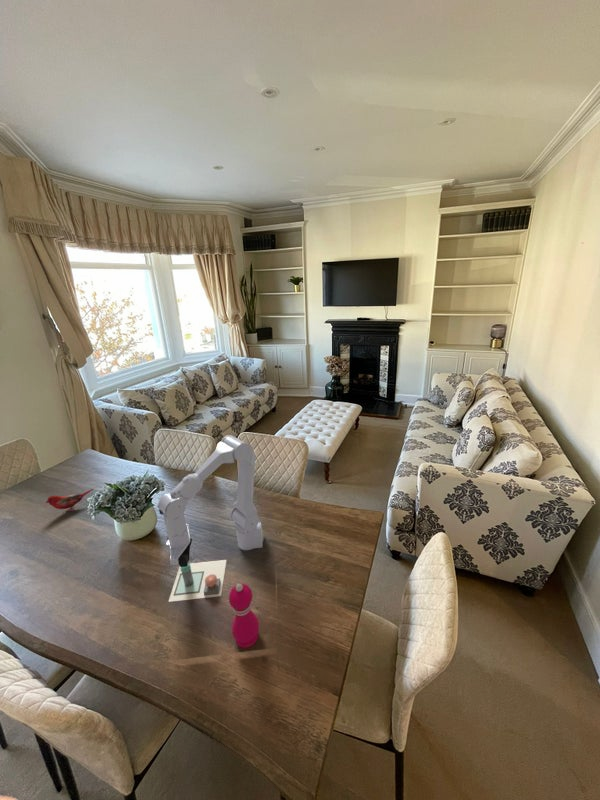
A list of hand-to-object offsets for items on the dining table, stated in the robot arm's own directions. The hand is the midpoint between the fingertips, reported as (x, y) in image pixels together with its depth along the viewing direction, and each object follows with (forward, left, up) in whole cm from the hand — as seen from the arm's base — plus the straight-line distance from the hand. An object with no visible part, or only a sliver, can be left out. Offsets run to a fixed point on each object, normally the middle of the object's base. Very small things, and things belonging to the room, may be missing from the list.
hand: (184, 563), depth 103 cm
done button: (-8, +3, -7) cm, 11 cm away
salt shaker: (0, 0, -8) cm, 8 cm away
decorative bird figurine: (+62, -47, -10) cm, 78 cm away
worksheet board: (-3, -1, -9) cm, 10 cm away
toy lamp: (+12, -23, -10) cm, 28 cm away
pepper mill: (-20, +19, -10) cm, 29 cm away
